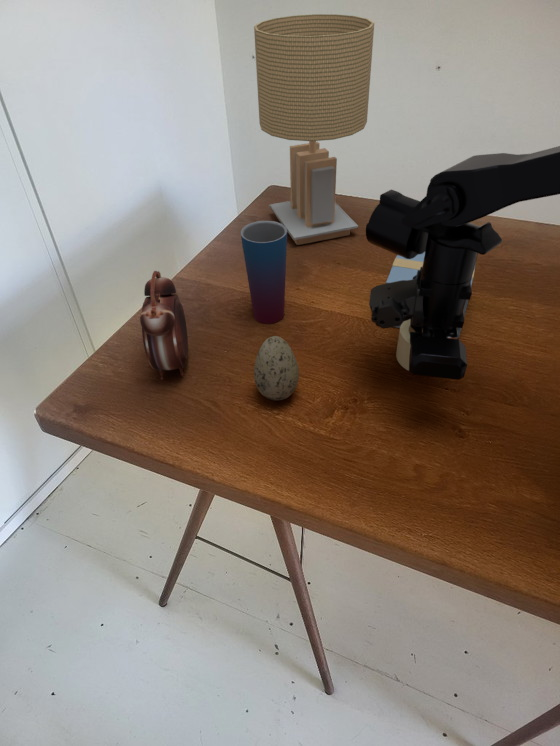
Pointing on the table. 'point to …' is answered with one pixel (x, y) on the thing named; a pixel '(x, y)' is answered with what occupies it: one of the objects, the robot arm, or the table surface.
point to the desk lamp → (313, 108)
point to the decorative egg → (276, 369)
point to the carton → (411, 272)
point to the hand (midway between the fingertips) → (425, 370)
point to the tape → (404, 344)
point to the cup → (266, 268)
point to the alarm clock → (163, 325)
